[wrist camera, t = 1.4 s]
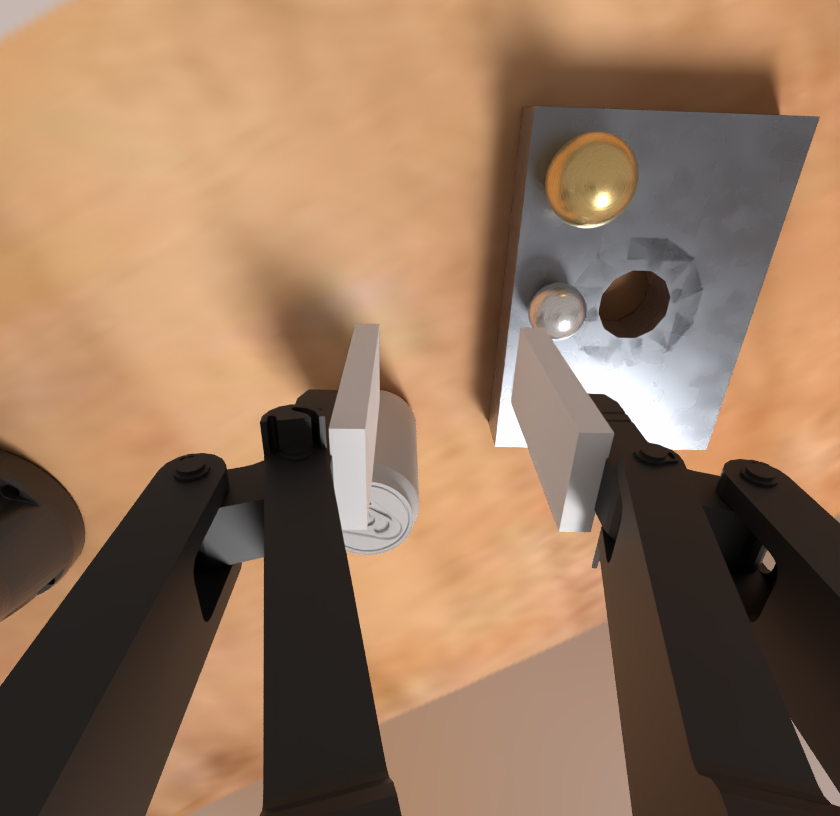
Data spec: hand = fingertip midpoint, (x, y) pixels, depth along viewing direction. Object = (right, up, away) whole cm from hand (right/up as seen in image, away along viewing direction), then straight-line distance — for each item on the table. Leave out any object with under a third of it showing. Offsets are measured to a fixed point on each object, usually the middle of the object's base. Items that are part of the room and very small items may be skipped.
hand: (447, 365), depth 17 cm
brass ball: (+8, +11, +11) cm, 18 cm away
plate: (+13, +7, +20) cm, 25 cm away
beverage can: (-4, -2, +25) cm, 25 cm away
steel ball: (+8, +5, +15) cm, 18 cm away
